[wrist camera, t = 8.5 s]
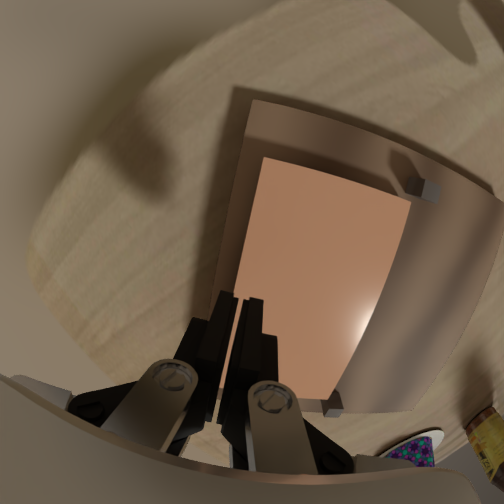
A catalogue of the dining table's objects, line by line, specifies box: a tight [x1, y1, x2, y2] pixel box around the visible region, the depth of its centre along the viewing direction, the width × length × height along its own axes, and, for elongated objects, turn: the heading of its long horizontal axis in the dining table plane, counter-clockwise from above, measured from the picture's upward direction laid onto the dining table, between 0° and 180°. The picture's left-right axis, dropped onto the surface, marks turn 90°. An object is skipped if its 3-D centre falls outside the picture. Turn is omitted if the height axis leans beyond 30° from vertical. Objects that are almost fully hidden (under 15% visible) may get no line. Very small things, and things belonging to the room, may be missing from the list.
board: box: [207, 99, 504, 417], centre depth 15 cm, size 20×20×3 cm
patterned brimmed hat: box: [379, 430, 444, 467], centre depth 22 cm, size 12×12×5 cm
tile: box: [219, 157, 411, 400], centre depth 15 cm, size 8×14×1 cm, turn 167°
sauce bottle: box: [466, 407, 504, 492], centre depth 14 cm, size 7×6×20 cm
